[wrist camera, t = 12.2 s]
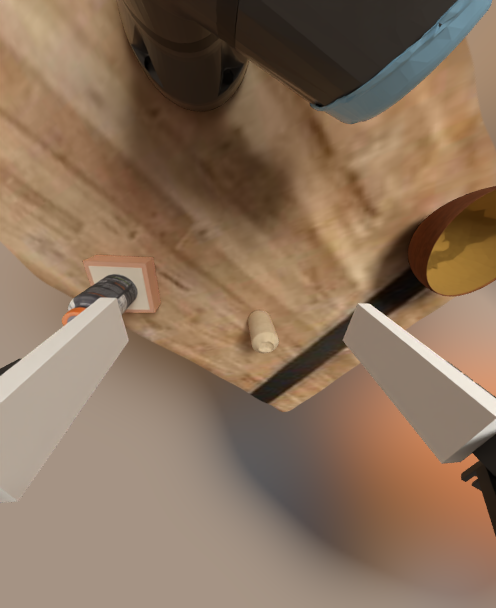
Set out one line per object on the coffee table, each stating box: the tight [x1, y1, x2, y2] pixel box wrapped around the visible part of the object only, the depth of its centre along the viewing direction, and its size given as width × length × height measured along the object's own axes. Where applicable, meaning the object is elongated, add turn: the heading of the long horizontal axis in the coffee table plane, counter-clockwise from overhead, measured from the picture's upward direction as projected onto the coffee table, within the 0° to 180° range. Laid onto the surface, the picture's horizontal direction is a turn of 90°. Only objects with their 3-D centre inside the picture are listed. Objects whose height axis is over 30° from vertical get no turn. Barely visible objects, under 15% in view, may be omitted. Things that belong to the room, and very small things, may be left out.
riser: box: [82, 255, 161, 313], centre depth 36 cm, size 10×10×4 cm
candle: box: [248, 310, 279, 353], centre depth 41 cm, size 6×6×10 cm
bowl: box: [408, 186, 496, 296], centre depth 35 cm, size 18×18×10 cm
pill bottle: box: [62, 274, 138, 326], centre depth 30 cm, size 6×6×11 cm
